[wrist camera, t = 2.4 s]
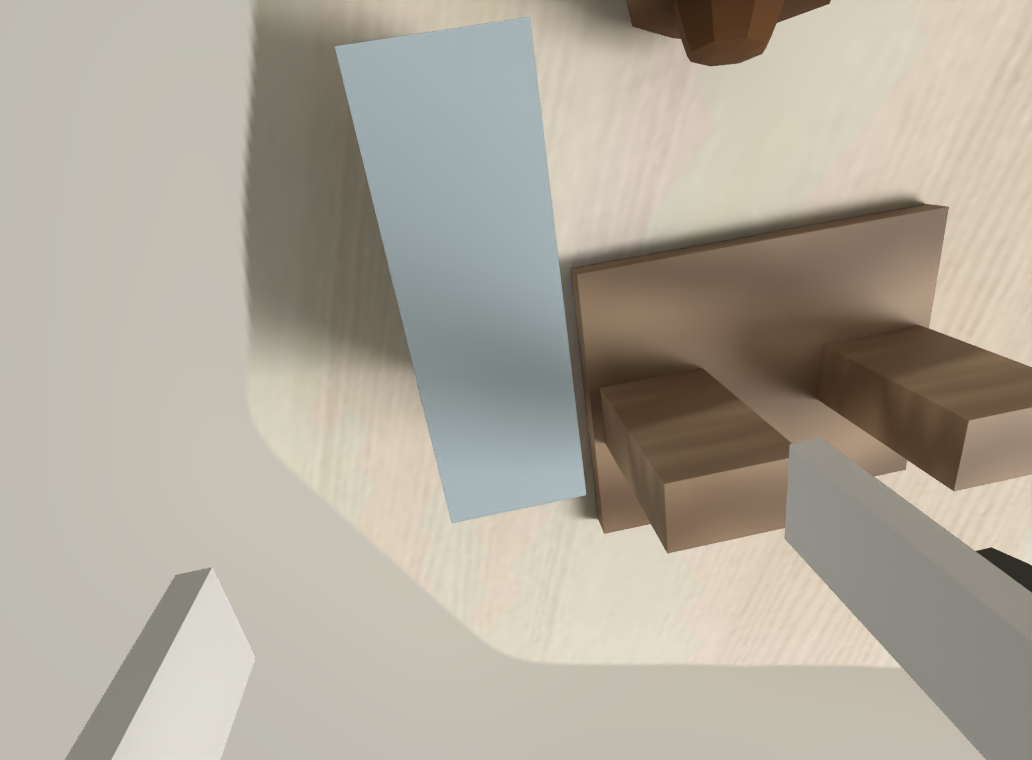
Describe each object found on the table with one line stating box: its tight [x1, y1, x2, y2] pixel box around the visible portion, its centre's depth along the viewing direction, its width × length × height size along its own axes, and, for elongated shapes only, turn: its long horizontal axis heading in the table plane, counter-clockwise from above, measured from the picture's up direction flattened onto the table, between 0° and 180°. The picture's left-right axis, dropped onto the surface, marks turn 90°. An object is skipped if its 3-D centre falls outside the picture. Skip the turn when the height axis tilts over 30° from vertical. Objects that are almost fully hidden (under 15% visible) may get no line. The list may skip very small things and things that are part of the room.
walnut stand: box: [571, 204, 1032, 553], centre depth 24 cm, size 14×17×9 cm
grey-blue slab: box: [335, 17, 586, 523], centre depth 19 cm, size 12×4×11 cm, turn 9°
